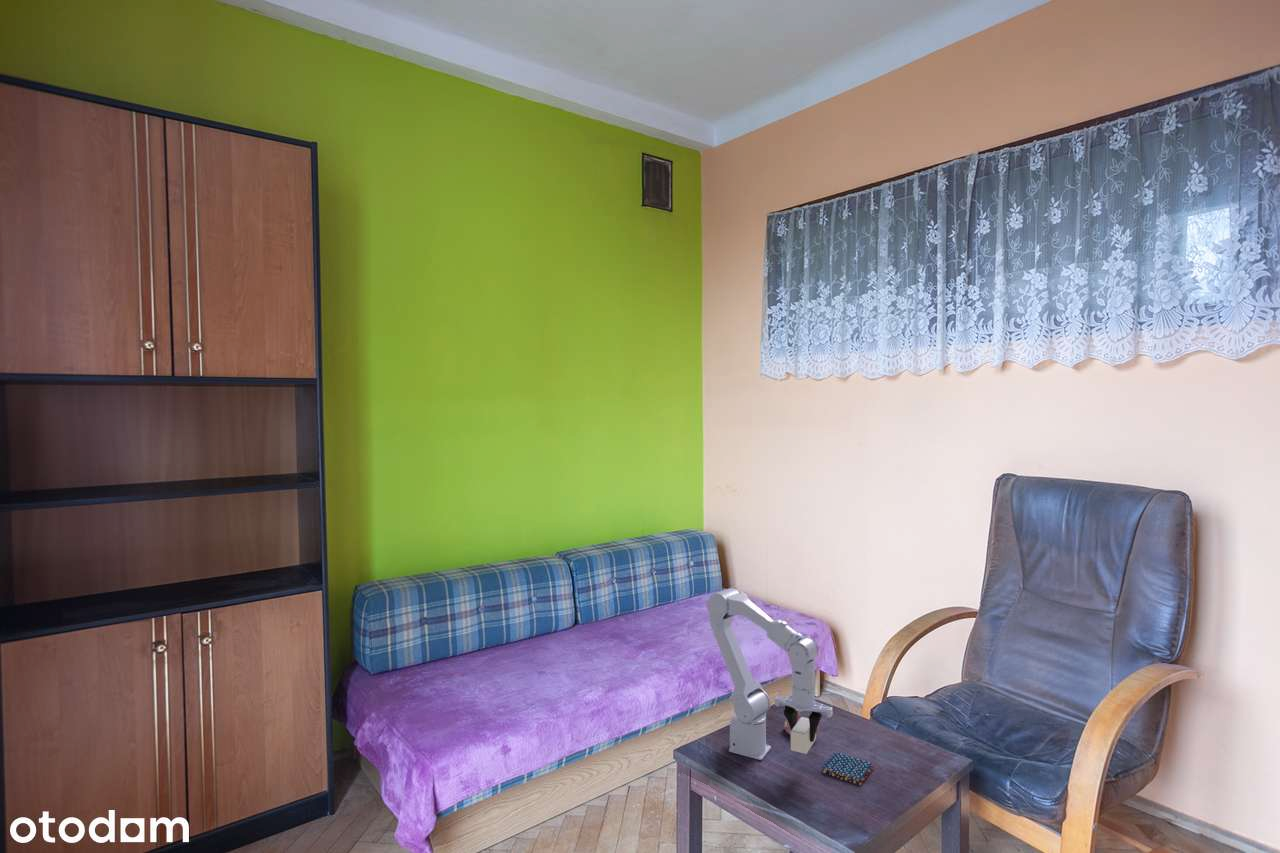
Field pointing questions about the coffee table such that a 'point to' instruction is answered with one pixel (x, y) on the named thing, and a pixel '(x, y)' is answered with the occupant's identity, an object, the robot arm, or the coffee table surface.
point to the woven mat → (848, 768)
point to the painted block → (801, 736)
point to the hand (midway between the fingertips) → (803, 738)
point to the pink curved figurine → (788, 729)
